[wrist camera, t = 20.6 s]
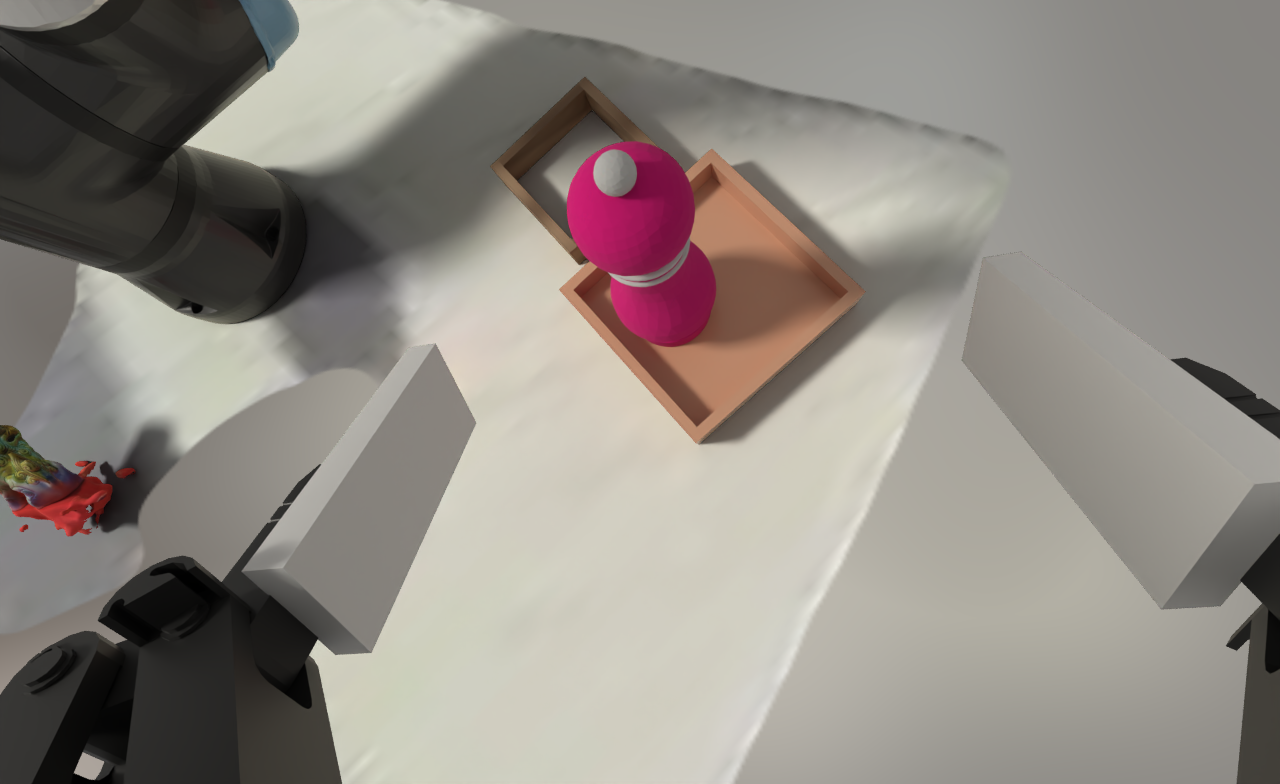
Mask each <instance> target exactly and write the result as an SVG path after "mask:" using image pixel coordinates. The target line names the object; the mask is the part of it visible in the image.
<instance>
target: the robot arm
mask: <svg viewBox="0 0 1280 784" xmlns="http://www.w3.org/2000/svg"><path fill="white" fill-rule="evenodd" d="M298 33H299V22H298V18H297V15H296V13H295V11H294V9H293V7H292V5H291V4H290V3H289V1H288V0H0V239H1V240H4V241H8V242H11V243H15V244H18V245H22V246H24V247H28V248H31V249H35V250H38V251H41V252H44V253H48V254H51V255H55V256H58V257H61V258H65V259H68V260H71V261H75V262H78V263H81V264H85V265H88V266H92V267H95V268H99V269H102V270H105V271H108V272H112V273H115V274H117V275H119V276H121V277H122V278H124V279H125V280H127V281H129V282H130V283H132V284H133V285H135V286H137V287H138V288H140V289H142V290H143V291H145V292H146V293H148V294H150V295H151V296H153V297H154V298H156V299H158V300H159V301H161V302H162V303H164V304H166V305H167V306H169V307H170V308H172V309H174V310H175V311H177V312H180V313H182V314H184V315H187V316H190V317H194V318H197V319H201V320H205V321H209V322H213V323H219V324H231V323H237V322H241V321H245V320H248V319H250V318H252V317H254V316H256V315H258V314H260V313H262V312H263V311H265V310H266V309H267V308H269V307H270V306H271V305H272V304H273V303H275V302H276V301H277V300H278V299H279V298H280V297H281V295H282V294H283V293H284V292H285V291H286V289H287V288H288V287H289V285H290V284H291V282H292V280H293V279H294V277H295V275H296V273H297V271H298V268H299V266H300V263H301V260H302V257H303V253H304V249H305V241H306V224H305V218H304V213H303V210H302V207H301V204H300V202H299V200H298V198H297V197H296V195H295V194H294V192H293V191H292V190H291V189H290V188H289V187H288V186H287V185H286V184H285V183H284V182H283V181H281V180H280V179H278V178H277V177H275V176H273V175H272V174H270V173H268V172H267V171H265V170H264V169H262V168H260V167H258V166H256V165H254V164H251V163H249V162H246V161H243V160H239V159H235V158H231V157H228V156H224V155H220V154H217V153H213V152H209V151H205V150H202V149H198V148H194V147H190V146H187V145H183V144H185V143H186V142H187V141H188V140H189V139H190V138H191V137H193V136H194V135H195V134H196V133H197V132H198V131H200V130H201V129H202V128H203V127H204V126H205V125H207V124H208V123H209V122H210V121H211V120H212V119H214V118H215V117H216V116H217V115H218V114H219V113H220V112H222V111H223V110H224V109H225V108H226V107H227V106H229V105H230V104H231V103H232V102H233V101H234V100H236V99H237V98H238V97H239V96H240V95H241V94H243V93H244V92H245V91H246V90H247V89H248V88H250V87H251V86H252V85H253V84H254V83H255V82H256V81H258V80H259V79H260V78H261V77H262V76H263V75H265V74H266V73H267V72H270V71H271V70H273V69H274V67H275V62H276V61H277V60H278V58H279V57H280V56H281V55H282V54H283V53H284V52H285V51H286V50H287V49H288V48H289V47H290V46H291V45H292V44H293V42H294V41H295V40H296V38H297V36H298ZM962 361H963V363H964V364H965V365H966V367H967V368H968V369H969V370H970V372H971V373H972V374H973V375H974V377H975V378H976V379H977V380H978V382H979V383H980V384H981V385H982V387H983V388H984V389H985V390H986V391H987V393H988V394H989V395H990V397H991V398H992V399H993V400H994V401H995V403H996V404H997V405H998V406H999V408H1000V409H1001V410H1002V411H1003V413H1004V414H1005V415H1006V416H1007V418H1008V419H1009V420H1010V421H1011V423H1012V424H1013V425H1014V426H1015V428H1016V429H1017V430H1018V431H1019V433H1020V434H1021V435H1022V436H1023V438H1024V439H1025V440H1026V441H1027V443H1028V444H1029V445H1030V446H1031V448H1032V449H1033V450H1034V451H1035V453H1036V454H1037V455H1038V456H1039V458H1040V459H1041V460H1042V461H1043V463H1044V464H1045V465H1046V466H1047V468H1048V469H1049V470H1050V471H1051V473H1052V474H1053V475H1054V476H1055V478H1056V479H1057V480H1058V481H1059V483H1060V484H1061V485H1062V486H1063V488H1064V489H1065V490H1066V491H1067V493H1068V494H1069V495H1070V496H1071V498H1072V499H1073V500H1074V501H1075V503H1076V504H1077V505H1078V506H1079V508H1080V509H1081V510H1082V511H1083V513H1084V514H1085V515H1086V516H1087V518H1088V519H1089V520H1090V521H1091V523H1092V524H1093V525H1094V526H1095V527H1096V529H1097V530H1098V531H1099V532H1100V534H1101V535H1102V536H1103V537H1104V539H1105V540H1106V541H1107V543H1108V544H1109V545H1110V546H1111V547H1112V549H1113V550H1114V551H1115V552H1116V554H1117V555H1118V556H1119V557H1120V559H1121V560H1122V561H1123V562H1124V564H1125V565H1126V566H1127V567H1128V569H1129V570H1130V571H1131V572H1132V574H1133V575H1134V576H1135V577H1136V579H1137V580H1138V581H1139V582H1140V584H1141V585H1142V586H1143V587H1144V589H1145V590H1146V591H1147V592H1148V594H1149V595H1150V596H1151V597H1152V598H1153V600H1154V601H1155V602H1156V604H1157V605H1158V606H1159V607H1160V609H1178V608H1196V607H1214V606H1221V605H1222V604H1223V603H1224V601H1225V600H1226V599H1227V598H1228V597H1229V596H1230V595H1231V593H1232V592H1233V591H1234V590H1235V589H1236V588H1237V586H1238V585H1239V584H1240V583H1241V582H1242V583H1243V584H1244V585H1245V586H1246V587H1247V588H1248V589H1249V590H1250V591H1251V592H1252V593H1253V594H1254V595H1255V596H1256V597H1257V598H1258V599H1259V600H1260V601H1261V602H1262V604H1261V605H1260V606H1259V608H1258V609H1257V610H1256V611H1255V612H1254V613H1253V614H1252V615H1251V616H1250V617H1249V618H1248V619H1247V620H1246V621H1245V622H1244V623H1243V624H1242V625H1241V627H1240V628H1239V629H1238V630H1237V631H1236V632H1235V633H1234V634H1233V635H1232V636H1231V638H1230V640H1229V641H1228V643H1227V645H1226V646H1227V647H1229V648H1232V649H1234V650H1238V649H1239V648H1240V647H1241V646H1242V645H1243V644H1244V643H1245V642H1246V641H1247V640H1249V639H1250V644H1249V655H1248V666H1247V676H1246V688H1245V699H1244V710H1243V720H1242V732H1241V742H1240V753H1239V764H1238V776H1237V784H1280V410H1278V409H1277V408H1275V407H1274V406H1272V405H1271V404H1270V403H1268V402H1267V401H1265V400H1263V399H1257V398H1256V394H1255V393H1253V392H1252V391H1250V390H1249V389H1247V388H1246V387H1244V386H1243V385H1242V384H1240V383H1239V382H1237V381H1236V380H1234V379H1233V378H1231V377H1230V376H1228V375H1227V374H1225V373H1223V372H1220V371H1218V370H1215V369H1213V368H1210V367H1208V366H1205V365H1202V364H1200V363H1197V362H1195V361H1193V360H1190V359H1188V358H1180V359H1171V360H1170V359H1168V358H1167V357H1166V356H1164V355H1163V354H1162V353H1160V352H1159V351H1157V350H1156V349H1155V348H1153V347H1152V346H1150V345H1149V344H1148V343H1146V342H1145V341H1144V340H1142V339H1141V338H1139V337H1138V336H1137V335H1135V334H1134V333H1133V332H1131V331H1130V330H1128V329H1127V328H1126V327H1124V326H1123V325H1121V324H1120V323H1119V322H1117V321H1116V320H1115V319H1113V318H1112V317H1111V316H1109V315H1108V314H1106V313H1105V312H1104V311H1102V310H1101V309H1099V308H1098V307H1097V306H1095V305H1094V304H1092V303H1091V302H1090V301H1088V300H1087V299H1086V298H1084V297H1083V296H1081V295H1080V294H1079V293H1077V292H1076V291H1075V290H1073V289H1072V288H1070V287H1069V286H1068V285H1066V284H1065V283H1063V282H1062V281H1061V280H1060V279H1058V278H1057V277H1055V276H1054V275H1052V274H1051V273H1050V272H1048V271H1047V270H1046V269H1044V268H1043V267H1042V266H1040V265H1039V264H1037V263H1036V262H1035V261H1033V260H1032V259H1031V258H1029V257H1028V256H1026V255H1025V254H1024V253H1022V252H1016V253H1010V254H1003V255H997V256H991V257H984V258H983V261H982V265H981V270H980V275H979V280H978V284H977V289H976V294H975V299H974V304H973V309H972V313H971V318H970V323H969V328H968V333H967V337H966V342H965V347H964V352H963V357H962ZM475 425H476V421H475V419H474V417H473V415H472V413H471V411H470V410H469V408H468V406H467V404H466V402H465V400H464V398H463V396H462V394H461V392H460V390H459V388H458V386H457V384H456V382H455V380H454V378H453V376H452V375H451V373H450V371H449V369H448V367H447V365H446V363H445V361H444V359H443V357H442V355H441V353H440V351H439V349H438V347H437V345H436V343H435V344H428V345H422V346H415V347H409V348H408V349H407V350H406V352H405V353H404V354H403V356H402V357H401V358H400V360H399V361H398V363H397V364H396V365H395V367H394V368H393V369H392V371H391V372H390V373H389V375H388V376H387V377H386V379H385V380H384V381H383V383H382V384H381V385H380V387H379V388H378V389H377V391H376V392H375V393H374V395H373V396H372V397H371V399H370V400H369V401H368V403H367V404H366V405H365V407H364V408H363V409H362V411H361V412H360V413H359V415H358V416H357V417H356V419H355V420H354V421H353V423H352V424H351V425H350V427H349V428H348V429H347V431H346V432H345V433H344V435H343V436H342V437H341V439H340V440H339V442H338V443H337V444H336V446H335V447H334V448H333V450H332V451H331V452H330V454H329V455H328V456H327V458H326V459H325V460H324V462H323V463H322V464H320V465H318V466H317V467H316V468H315V469H313V470H312V471H311V472H310V473H309V474H308V475H306V476H305V477H304V478H303V479H302V480H301V481H299V482H298V483H297V485H296V486H295V487H294V489H293V490H292V491H291V493H290V494H289V495H288V496H287V498H286V499H285V500H284V502H283V506H280V507H279V508H278V509H277V511H276V512H275V514H274V515H273V516H272V517H271V523H267V524H266V525H265V526H264V528H263V529H262V530H261V532H260V533H259V534H258V536H257V537H256V538H255V539H254V541H253V542H252V543H251V545H250V546H249V547H248V549H247V550H246V551H245V553H244V554H243V555H242V556H241V558H240V559H239V560H238V562H237V563H236V564H235V566H234V567H233V568H232V569H231V571H230V572H229V573H228V575H227V576H226V577H225V579H224V580H223V581H222V582H220V581H219V580H218V579H217V578H216V577H215V576H213V575H212V574H211V573H210V572H209V571H207V570H206V569H205V568H204V567H203V566H201V565H200V564H199V563H198V562H197V561H195V560H194V559H193V558H190V557H186V556H179V557H174V558H168V559H166V560H164V561H162V562H159V563H157V564H155V565H153V566H151V567H149V568H148V569H146V570H144V571H143V572H141V573H140V574H138V575H137V576H135V577H133V578H132V579H131V580H130V581H129V582H128V583H126V584H125V585H124V586H123V587H122V588H121V589H119V590H118V591H117V592H116V593H115V595H114V596H113V597H112V598H111V599H110V600H109V602H108V603H107V604H106V605H105V607H104V608H103V610H102V612H101V614H100V617H99V619H98V621H99V622H101V623H102V624H104V625H106V626H107V627H108V628H110V629H112V630H113V631H115V632H116V633H118V634H119V635H121V636H123V637H124V638H126V639H127V640H125V641H122V642H120V643H117V644H114V643H112V642H111V641H109V640H107V639H106V638H104V637H103V636H101V635H100V634H98V633H96V632H90V631H84V632H80V633H76V634H73V635H70V636H68V637H66V638H64V639H62V640H60V641H58V642H57V643H55V644H53V645H50V646H49V647H47V648H46V649H44V650H43V651H42V652H41V653H38V654H37V655H36V656H35V657H33V658H32V659H31V660H30V661H29V662H28V663H27V664H26V666H24V667H23V668H22V669H21V670H20V671H19V672H18V673H17V674H16V675H15V676H14V677H13V678H12V680H11V681H10V682H9V684H8V685H7V686H6V688H5V689H4V690H3V692H2V693H1V695H0V784H342V781H341V776H340V771H339V766H338V761H337V757H336V752H335V747H334V742H333V737H332V732H331V727H330V722H329V718H328V713H327V708H326V703H325V698H324V693H323V688H322V684H321V679H320V674H319V669H318V666H317V664H316V663H315V661H314V659H313V658H311V657H310V656H309V654H310V652H311V650H312V649H313V647H314V645H315V643H316V641H317V640H319V641H320V642H322V643H323V644H324V645H325V646H326V647H327V648H328V649H329V650H331V651H332V652H333V653H334V654H335V655H340V654H358V653H371V652H372V650H373V648H374V646H375V644H376V642H377V639H378V637H379V635H380V633H381V631H382V628H383V626H384V624H385V622H386V620H387V617H388V615H389V613H390V611H391V609H392V606H393V604H394V602H395V600H396V598H397V595H398V593H399V591H400V589H401V587H402V585H403V582H404V580H405V578H406V576H407V574H408V571H409V569H410V567H411V565H412V563H413V560H414V558H415V556H416V554H417V552H418V549H419V547H420V545H421V543H422V541H423V539H424V536H425V534H426V532H427V530H428V528H429V525H430V523H431V521H432V519H433V517H434V514H435V512H436V510H437V508H438V506H439V503H440V501H441V499H442V497H443V495H444V492H445V490H446V488H447V486H448V484H449V482H450V479H451V477H452V475H453V473H454V471H455V468H456V466H457V464H458V462H459V460H460V457H461V455H462V453H463V451H464V449H465V446H466V444H467V442H468V440H469V438H470V436H471V433H472V431H473V429H474V427H475ZM82 752H84V753H86V754H88V755H91V756H93V757H95V758H97V759H100V760H102V761H104V765H103V767H102V770H101V772H100V773H99V775H98V776H97V778H96V779H95V780H89V779H87V778H84V777H82V776H79V775H77V774H74V771H75V769H76V766H77V764H78V762H79V759H80V757H81V755H82Z"/></svg>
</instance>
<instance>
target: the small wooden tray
mask: <svg viewBox="0 0 1280 784" xmlns="http://www.w3.org/2000/svg"><path fill="white" fill-rule="evenodd" d="M591 110H593V111H594V112H595V113H596V114H597V115H598V116H599V117H600V118H601V119H602V120H603V121H604V122H605V123H606V124H607V125H608V126H609V127H610V128H611V129H612V130H613V131H614V132H615V133H616V134H617V135H618V136H619V137H620V138H621V139H622V140H623V141H624V142H631V141H638V142H643V143H648V144H651V145H654V146H656V147H658V146H657V145H656V144H655V143H654V142H652V141H651V140H650V139H649V138H648V137H647V136H646V135H645V134H644V133H643V132H642V131H641V130H640V129H639V128H638V127H637V126H636V125H635V124H634V123H633V122H632V121H631V120H630V119H629V118H627V117H626V116H625V115H624V114H623V113H622V112H621V111H620V110H619V109H618V108H617V107H616V106H615V105H614V104H613V103H612V102H611V101H610V100H609V99H608V98H607V97H606V96H605V95H604V94H602V93H601V92H600V91H599V90H598V89H597V88H596V87H595V86H594V85H593V84H592V83H591V82H590V81H589V80H588V79H587V78H586V77H584V78H583V79H582V80H581V81H580V82H579V83H578V84H577V85H576V86H574V87H573V88H572V89H571V90H570V91H569V92H568V93H567V94H566V95H565V96H564V97H563V98H562V99H561V100H560V101H559V102H558V103H557V104H555V105H554V106H553V107H552V108H551V109H550V110H549V111H548V112H547V113H546V114H545V115H544V116H543V117H542V118H541V119H540V120H539V121H538V122H536V123H535V124H534V125H533V126H532V127H531V128H530V129H529V130H528V131H527V132H526V133H525V134H524V135H523V136H522V137H521V138H520V139H519V140H517V141H516V142H515V143H514V144H513V145H512V146H511V147H510V148H509V149H508V150H507V151H506V152H505V153H504V154H503V155H502V156H501V157H500V158H498V159H497V160H496V161H495V162H494V163H493V164H492V165H491V166H490V167H491V168H492V169H493V170H494V172H495V173H496V174H497V175H498V177H499V178H500V179H501V180H502V181H503V183H504V184H505V185H506V186H507V187H508V188H509V189H510V190H511V191H512V192H513V193H514V195H515V196H516V197H517V198H518V199H519V200H520V201H521V202H522V203H523V204H524V205H525V207H526V208H527V209H528V210H529V211H530V212H531V213H532V214H533V215H534V216H535V217H536V219H537V220H538V221H539V222H540V223H541V224H542V225H543V226H544V227H545V228H546V229H547V231H548V232H549V233H550V234H551V235H552V236H553V237H554V238H555V239H556V240H557V241H558V243H559V244H560V245H561V246H562V247H563V248H564V249H565V250H566V251H567V252H568V253H569V255H570V256H571V257H572V258H573V259H574V260H575V261H576V262H577V263H578V264H579V265H580V264H581V263H582V262H583V261H584V260H585V259H586V257H585V256H584V255H583V253H582V252H581V250H580V249H579V247H578V246H577V244H576V243H575V241H574V239H573V238H572V239H570V238H569V237H568V236H567V234H566V233H565V232H564V231H563V230H562V229H561V228H560V227H559V226H558V225H557V224H556V223H555V222H554V220H553V219H552V218H551V217H550V216H549V215H548V214H547V213H546V212H545V211H544V210H543V209H542V208H541V206H540V205H539V204H538V203H537V202H536V201H535V200H534V199H533V198H532V197H531V196H530V195H529V193H528V192H527V191H526V190H525V189H524V188H523V187H522V186H521V185H520V184H519V183H518V182H517V180H518V179H519V178H520V177H521V176H522V175H523V174H525V173H526V172H527V171H528V170H529V169H530V168H531V167H532V166H533V165H534V164H535V163H536V162H537V161H538V160H539V159H540V158H542V157H543V156H544V155H545V154H546V153H547V152H548V151H549V150H550V149H551V148H552V147H553V146H554V145H555V144H556V143H557V142H558V141H560V140H561V139H562V138H563V137H564V136H565V135H566V134H567V133H568V132H569V131H570V130H571V129H572V128H573V127H574V126H575V125H577V124H578V123H579V122H580V121H581V120H582V119H583V118H584V117H585V116H586V115H587V114H588V113H589V112H590V111H591ZM658 148H659V147H658Z"/></svg>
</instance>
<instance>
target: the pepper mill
mask: <svg viewBox="0 0 1280 784" xmlns="http://www.w3.org/2000/svg"><path fill="white" fill-rule="evenodd" d="M567 218H568V224H569V228H570V231H571V234H572V237H573V239H574V241H575V243H576V244H577V246H578V247H579V249H580V250H581V252H582V253H583V255H584V256H585V257H586V258H587V259H588V260H589V261H590V262H592V263H593V264H594V265H596V266H597V267H598V268H600V269H602V270H604V271H606V272H608V273H609V274H610V275H611V284H610V294H611V299H612V303H613V306H614V308H615V311H616V313H617V315H618V317H619V318H620V320H621V322H622V323H623V324H624V325H625V326H626V327H627V328H628V329H629V330H630V331H631V332H633V333H634V334H636V335H637V336H639V337H641V338H644V339H646V340H647V341H649V342H651V343H653V344H655V345H658V346H663V347H675V346H680V345H683V344H686V343H688V342H690V341H691V340H693V339H694V338H696V337H697V336H698V335H699V334H700V333H701V332H702V331H703V329H704V328H705V326H706V325H707V323H708V320H709V318H710V314H711V310H712V307H713V305H714V301H715V297H716V279H715V276H714V272H713V269H712V267H711V264H710V262H709V260H708V258H707V257H706V255H705V254H704V253H703V251H702V250H701V249H700V248H699V247H698V246H697V245H695V244H694V243H693V242H692V241H690V235H691V232H692V228H693V224H694V218H695V203H694V194H693V191H692V188H691V185H690V182H689V179H688V177H687V176H686V174H685V172H684V171H683V169H682V167H681V166H680V165H679V164H678V163H677V161H676V160H675V159H674V158H673V157H671V156H670V155H669V154H668V153H667V152H665V151H663V150H662V149H660V148H658V147H656V146H654V145H651V144H648V143H643V142H638V141H631V142H620V143H615V144H612V145H609V146H607V147H604V148H603V149H601V150H599V151H597V152H596V153H594V154H593V155H592V156H590V157H589V158H588V159H587V160H586V161H585V162H584V163H583V164H582V166H581V167H580V168H579V169H578V171H577V173H576V175H575V176H574V178H573V180H572V182H571V185H570V189H569V193H568V198H567Z"/></svg>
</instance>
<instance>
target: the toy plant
mask: <svg viewBox="0 0 1280 784" xmlns="http://www.w3.org/2000/svg"><path fill="white" fill-rule="evenodd" d="M87 464H88V462H87V461H79V462H76V464H75V465H76V466H80V467H83V466H86V465H87ZM95 464H96V462H92V463H90V464H88V465H87V466H86V467H84V468H83V469H82V470H81V471H80V473H79V474H78V475H77V474H75V473H72V472H70V471H69V470H67V469H66V468H65V467H64V466H63V465H62V464H60V463H58V462H55V461H49V460H45V459H44V458H43V457H42V456H41V455H40V454H38V453H37V452H35V451H34V450H33V448H32V447H30V446H29V444H28V443H27V442H26V441H25V440H24V439H23V438H22V436H21V433H20V432H19V430H18V429H16V428H15V427H13V426H8V425H0V494H1V495H2V496H3V497H4V499H5V500H6V501H7V502H8V505H9V507H10V508H11V510H12V512H13V514H15V515H16V516H18V517H31V518H35V519H45V520H51V521H54V523H55V526H56V529H57V530H59V529H62V528H63V529H64V530H65V532H66V535H67V536H73V535H74V534H76V533H77V532H80V533H83V534H89V533H92V532H89V530H91V529H92V528H91V529H86V530H85V529H82V528H83V525H84V523H85V522H86V521H87V520H86V519H87V518H89V517H91V516H92V515H93V514H96V515H97V517H96V519H95V520H96V523H97V527H96V528H98V521H99V515H101V514H103V513H104V509H103V508H104V506H105V505H106V503H107V502H108V501H110V500H111V494H112V491H113V490H112V485H110V484H103V483H102V482H101V480H100V479H98V478H97V477H92V476H91V477H86V476H87V474H90V472H91V470H93V469H94V466H95ZM133 471H134V472H135V470H134V469H133V468H124V469H121V470H119V471H117V472H116V476H117V477H118V478H126V477H125V476H128V475H129V474H131V473H132V472H133ZM133 474H134V473H133ZM88 505H90V506H91V507H92V508H93V509H91V512H90V513H88V512H89V511H88V510H86V508H87V507H88ZM84 520H86V521H84ZM81 521H82V522H81ZM26 529H28V525H24V526H22V527H21V528H20V531H21V532H24V530H26Z"/></svg>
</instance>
